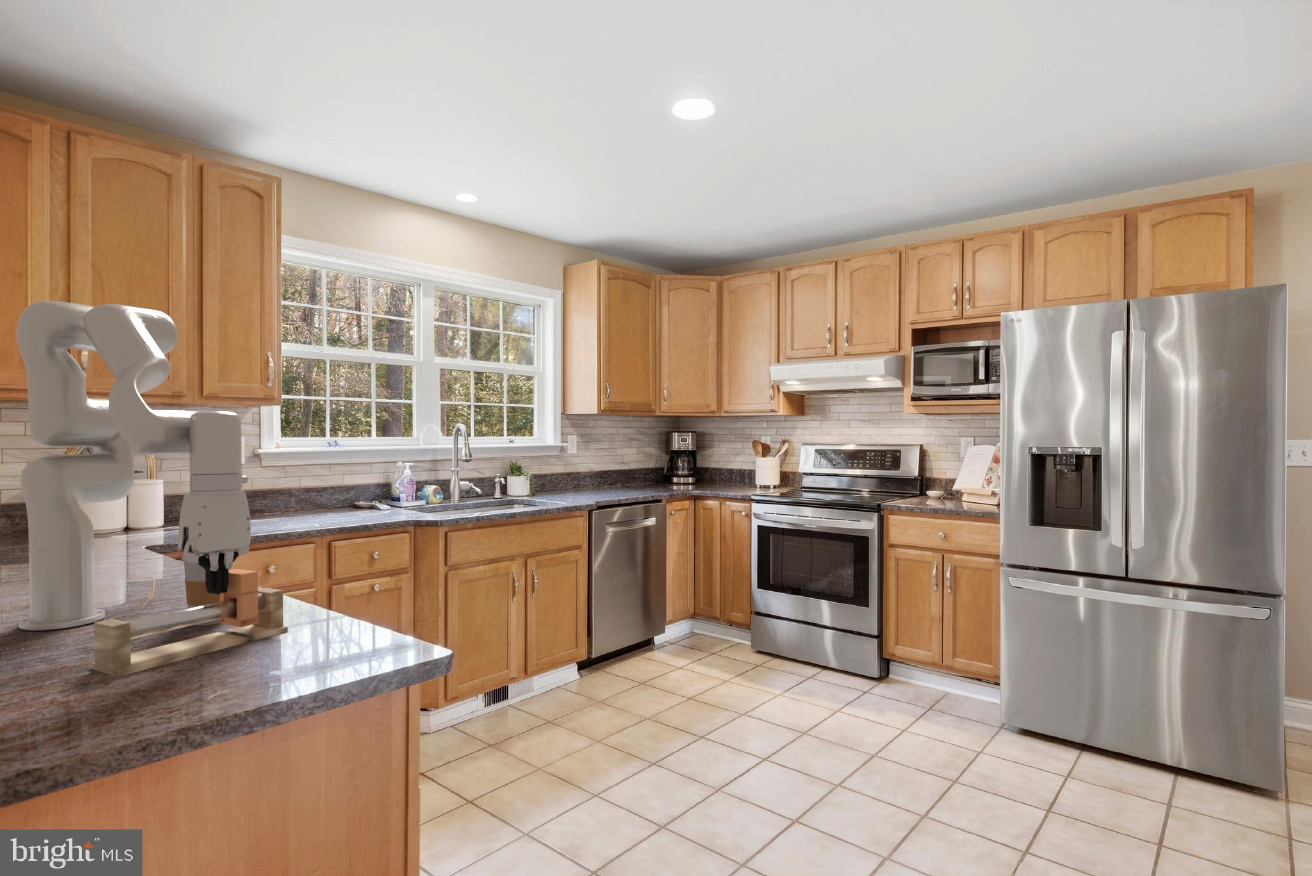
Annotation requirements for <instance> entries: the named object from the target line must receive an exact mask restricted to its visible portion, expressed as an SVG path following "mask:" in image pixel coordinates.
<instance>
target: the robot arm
mask: <svg viewBox="0 0 1312 876" xmlns="http://www.w3.org/2000/svg"><path fill="white" fill-rule="evenodd" d="M171 318H172V317H170V316H169V315H168V314H166V313H164V312H162V311H160V310H157V309H156V310H155V309H150V308H145V307H138V306H137V307H136V306H131V305H124V304H117V303H106V304H99V305H97V306H91V305H86V304H79V303H75V302H67V301H59V300H58V301H57V300H56V301H55V300H44V301H38V302H34V303H31V304H29V305H28V306H26V307H25V308H24V309H23V310H22V312H21V313H20V315H19V318H18V321H17V325H16V340H17V341H16V342H17V346H18V349H19V353H20V356H21V359H22V361H23V364H24V368H25V372H26V380H27V402H28V404H27V405H28V406H27V407H28V421H29V423H28V424H29V432H30V434H31V438H32V439H33V441H34V442H35V443H37V445H39V446H44V447H48V448H92V450H93V453H87V454H85V453H83V454H82V453H79V454H78V453H75V454H71V453H67V454H66V453H65V454H52V455H51V454H50V455H44V456H41V457H37V458H35V459H33V460H31V461H29V462H28V463H26V465H25V466H24V468H22V472H21V475H20V486H21V491H22V495H23V498H24V503H25V507H26V512H27V514H26V515H27V522H28V524H27V525H28V526H27V527H28V559H29V560H28V561H29V562H28V563H29V564H28V567H29V568H28V570H29V571H28V573H29V575H28V577H29V616H28V617H25V618H22V619H20V620H19V621H18V628H19V629H20V630H24V631H51V630H61V629H68V628H73V627H79V626H84V625H87V624H88V625H89V624H92V623H94V622H99V621H102V619H104V618H105V616H106V612H105V610H104V609H101V608H96V607H95V597H96V595H95V536H94V535H95V531H94V530H95V529H94V524H93V522H92V521H91V519H90V517H89V516H88V515H87V514H86V513H85V511H84V510H83V509H82V507H81V506H80V505H84V504H94V503H95V504H96V503H105V502H114V501H119V500H121V499H123V498H126V497H127V496H128V495H129V494H130V493H131V490H132V489H133V487H134V481H135V462H134V461H135V460H134V459H135V458H134V452H136V453H138V454H142V455H144V456H146V455H147V456H157V455H159V456H160V455H161V456H162V455H189V493H185V494H183V495H184V496H183V500H182V503H181V508H180V515H179V521H178V522H179V523H178V534H177V535H178V536H177V537H178V538H177V545H178V546H177V547H178V550H179V551H180V552H182V555H183V557H182V556H181V561H183V563H184V562H193V563H197V564H199V565H200V566H201V567H202V569H203V570H205V583H206V589H207V592H208V593H211V594H221V593H227V591H228V585H229V569H230V568H231V567H232V568H233V563H234V562H235V561H236V560H237V558H238V557H241V556H243V555H246V554H248V553H249V552H250V547H249V545H250V543H251V538H252V527H251V526H252V523H251V515H250V507H249V503H248V498H247V494H246V491H245V490H242V489H243V485H245V484H248V482H249V478H248V476H247V475H243V470H242V467H243V465H242V462H243V461H242V420H241V417H240V415H239V414H238V413H235V412H233V411H224V410H223V411H219V410H217V411H216V410H215V411H213V410H212V411H211V410H210V411H205V410H204V411H200V410H199V411H197V410H180V409H179V410H178V409H151V408H150V407H149V406H148V404H146V402H145V401H144V399H143V398H142V396H141V395H140V394H142V393H143V394H144V393H146V392H149V391H151V390H154V389H155V388H157V387H158V386H160V385H162V384H163V383H164V382H165V381H166V380H167V379H168V377H169V376H170V373H171V369H172V368H171V364H170V361H169V360H168V358H167V357H166V356H165V355H167V354H168V353H170V352H172V351H173V350H174V349H175V347H176V346H177V344H178V340H179V332H178V329H177V326H176V324H175V322H174V321H173V319H171ZM70 349H71V350H79V351H88V352H90V351H91V352H97V353H98V354H99V356H100V358H101V359H102V360H103V362H104V363H105V365H106V366H107V368H108V370H109V371H110V373H111V374H112V376H113V377H114V379H115V381H114V383H113V384H112V386H111V388H110V392H109V396H108V399H106V398H90V397H88V395H87V390H86V376H85V372H84V370H83V369H82V367H81V366H80V364H79V363H78V361H77V360H76V359H75V358H74V356H73V355H72V354H70V352H69V351H68V350H70ZM216 552H217V555H216ZM196 554H199V555H196Z"/></svg>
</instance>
